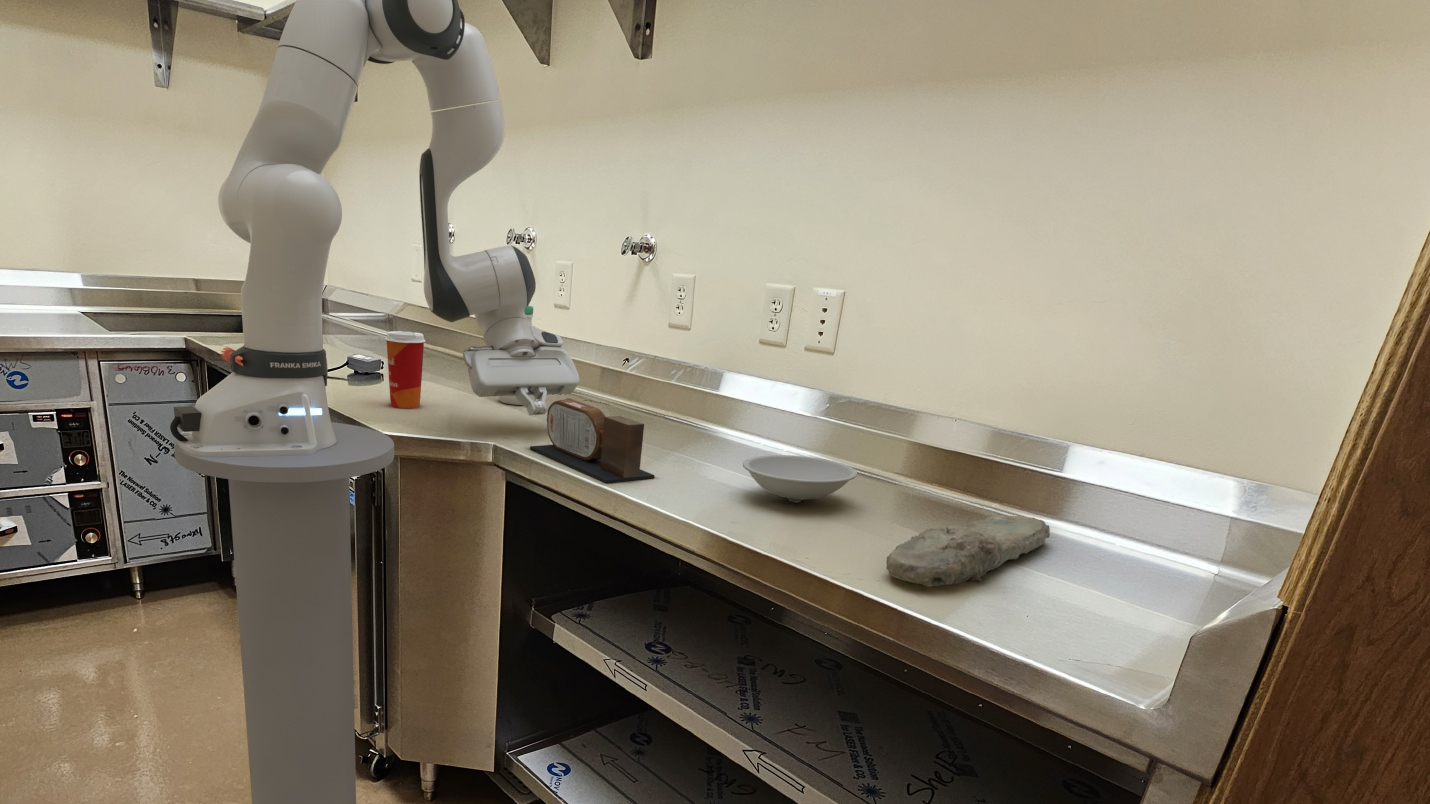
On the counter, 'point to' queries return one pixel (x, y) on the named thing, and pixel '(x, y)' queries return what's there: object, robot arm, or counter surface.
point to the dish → (798, 475)
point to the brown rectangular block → (622, 446)
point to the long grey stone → (965, 550)
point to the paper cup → (405, 368)
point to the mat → (585, 465)
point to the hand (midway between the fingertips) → (538, 412)
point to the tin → (576, 428)
